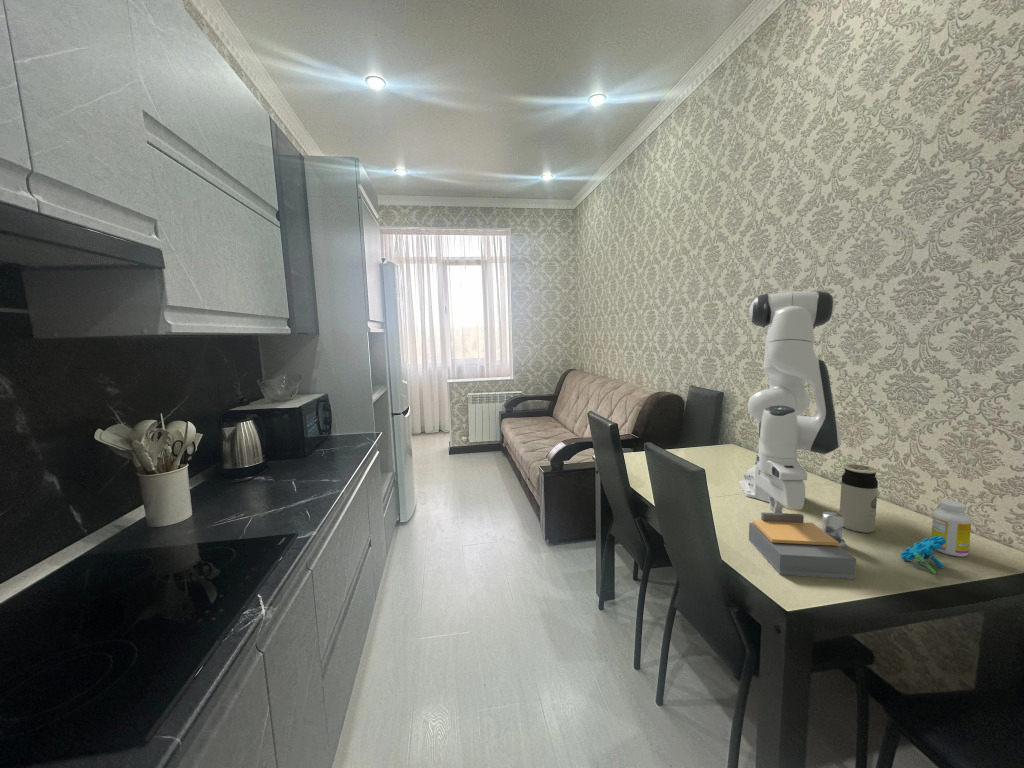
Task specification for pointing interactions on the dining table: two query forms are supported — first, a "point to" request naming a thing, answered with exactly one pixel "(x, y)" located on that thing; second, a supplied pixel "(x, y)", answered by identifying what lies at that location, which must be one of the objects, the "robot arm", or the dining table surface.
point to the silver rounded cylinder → (833, 526)
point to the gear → (925, 552)
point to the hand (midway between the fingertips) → (775, 512)
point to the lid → (792, 530)
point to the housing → (804, 557)
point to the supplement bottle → (952, 527)
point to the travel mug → (859, 498)
